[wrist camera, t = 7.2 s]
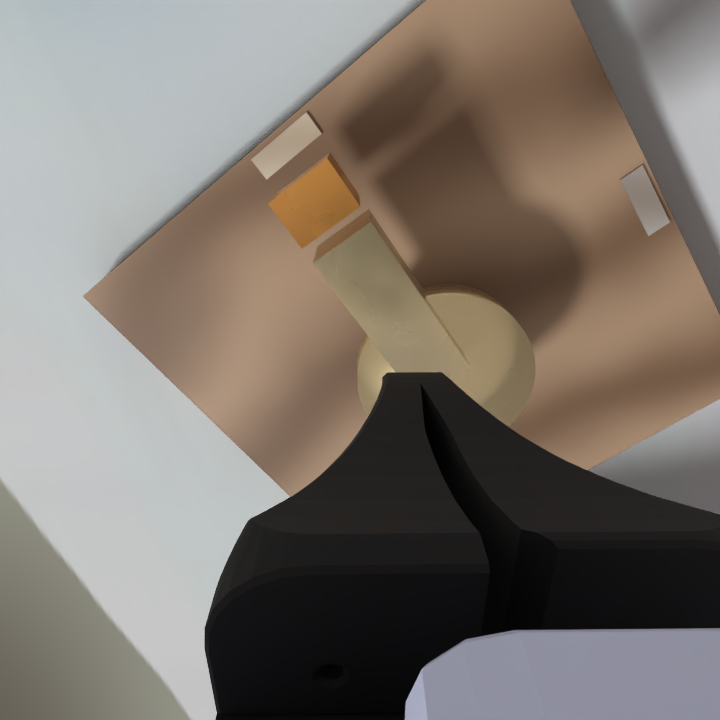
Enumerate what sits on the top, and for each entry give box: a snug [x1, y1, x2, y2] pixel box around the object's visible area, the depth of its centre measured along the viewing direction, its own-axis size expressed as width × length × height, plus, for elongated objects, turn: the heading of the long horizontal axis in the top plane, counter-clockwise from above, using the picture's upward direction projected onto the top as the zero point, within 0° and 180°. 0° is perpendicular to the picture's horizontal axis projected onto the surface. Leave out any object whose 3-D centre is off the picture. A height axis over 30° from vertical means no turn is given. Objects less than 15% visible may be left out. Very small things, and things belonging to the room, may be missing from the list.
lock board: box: [83, 0, 720, 497], centre depth 20 cm, size 19×19×4 cm
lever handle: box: [268, 152, 535, 427], centre depth 17 cm, size 11×6×2 cm, turn 35°
